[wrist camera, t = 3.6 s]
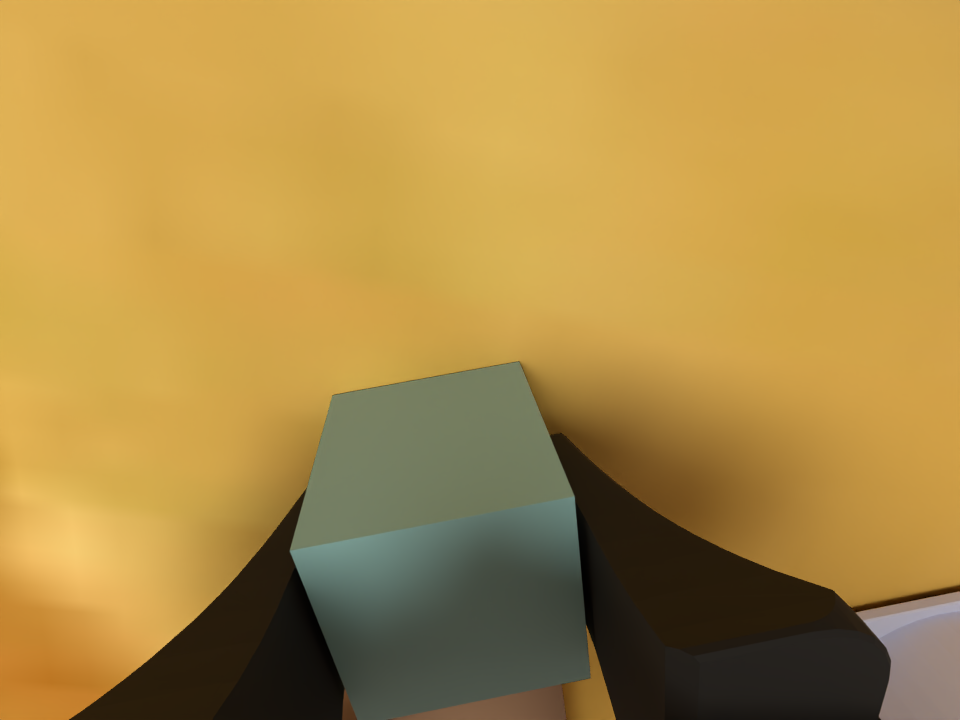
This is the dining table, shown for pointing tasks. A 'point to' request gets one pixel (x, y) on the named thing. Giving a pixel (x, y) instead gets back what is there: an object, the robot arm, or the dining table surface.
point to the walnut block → (493, 708)
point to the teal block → (442, 545)
